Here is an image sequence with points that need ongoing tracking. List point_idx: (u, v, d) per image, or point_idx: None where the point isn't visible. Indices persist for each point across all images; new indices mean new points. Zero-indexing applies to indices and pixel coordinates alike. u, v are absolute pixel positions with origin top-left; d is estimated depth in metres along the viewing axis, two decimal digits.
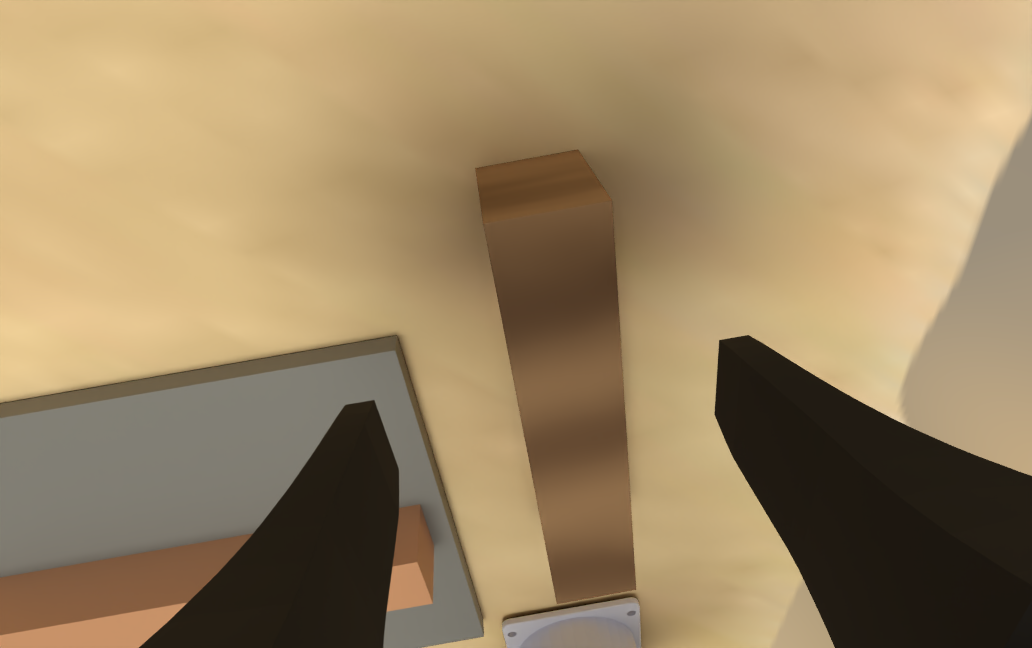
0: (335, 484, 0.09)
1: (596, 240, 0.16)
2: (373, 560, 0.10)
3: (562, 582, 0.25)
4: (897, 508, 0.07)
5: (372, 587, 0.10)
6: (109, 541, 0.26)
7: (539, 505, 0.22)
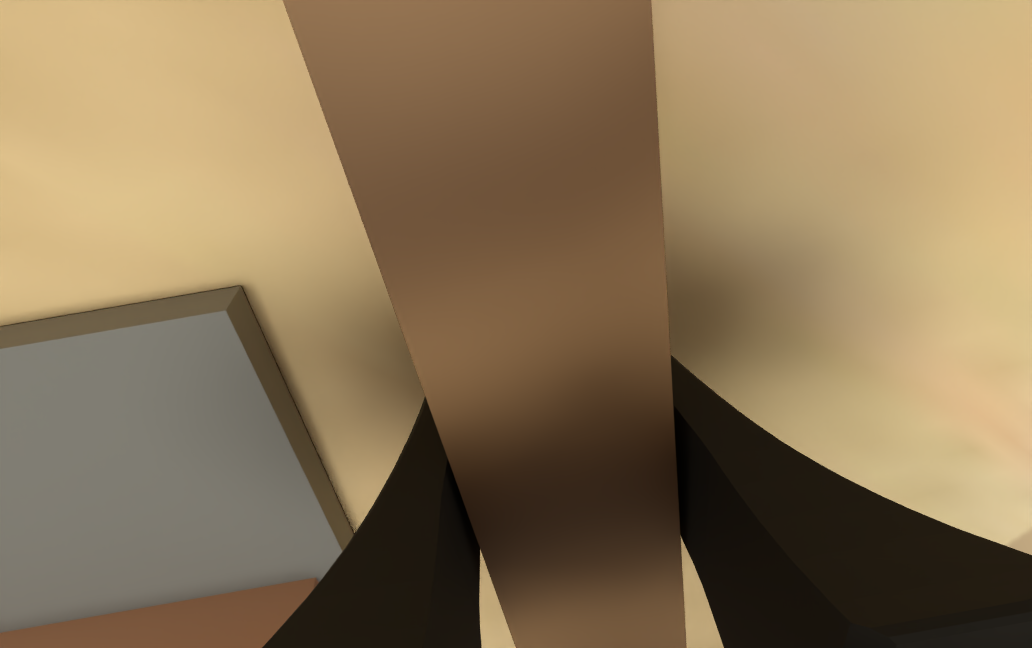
0: (441, 466, 0.09)
1: None
2: (469, 543, 0.10)
3: None
4: (759, 533, 0.07)
5: (470, 570, 0.10)
6: None
7: (507, 615, 0.11)
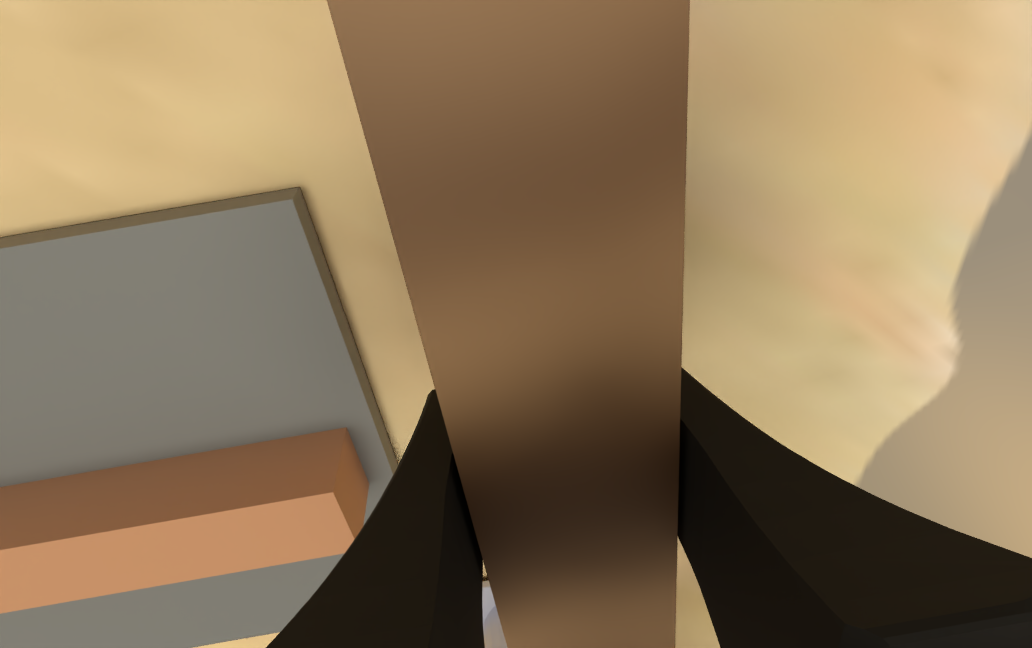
0: (445, 465, 0.09)
1: None
2: (472, 543, 0.10)
3: None
4: (755, 533, 0.07)
5: (473, 569, 0.10)
6: None
7: (500, 612, 0.11)
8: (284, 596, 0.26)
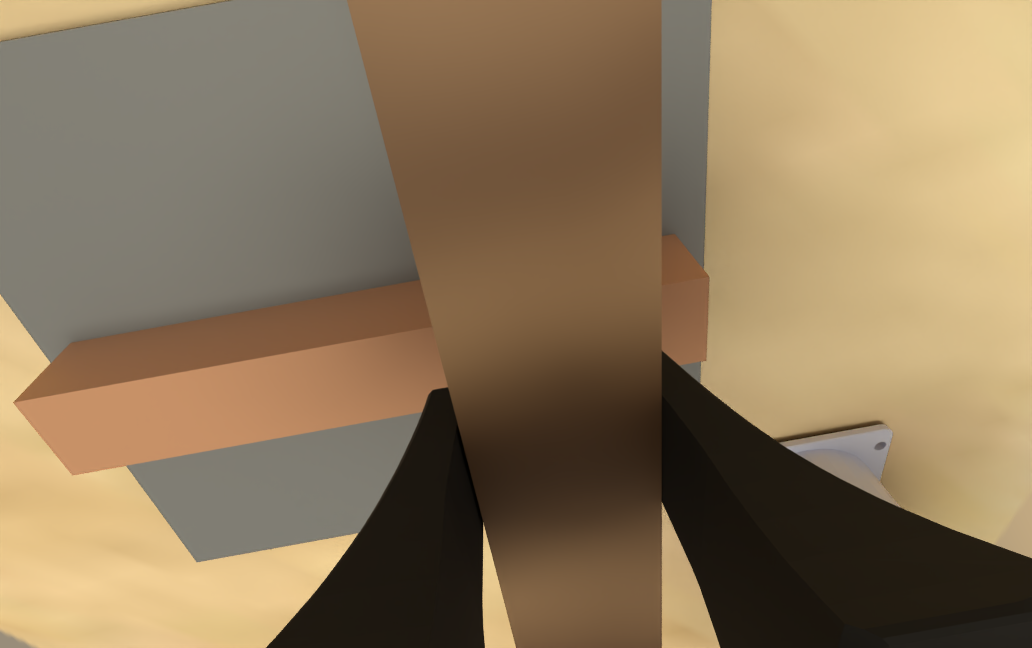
0: (445, 465, 0.09)
1: None
2: (472, 543, 0.10)
3: None
4: (755, 533, 0.07)
5: (473, 569, 0.10)
6: (249, 279, 0.18)
7: (498, 569, 0.12)
8: None
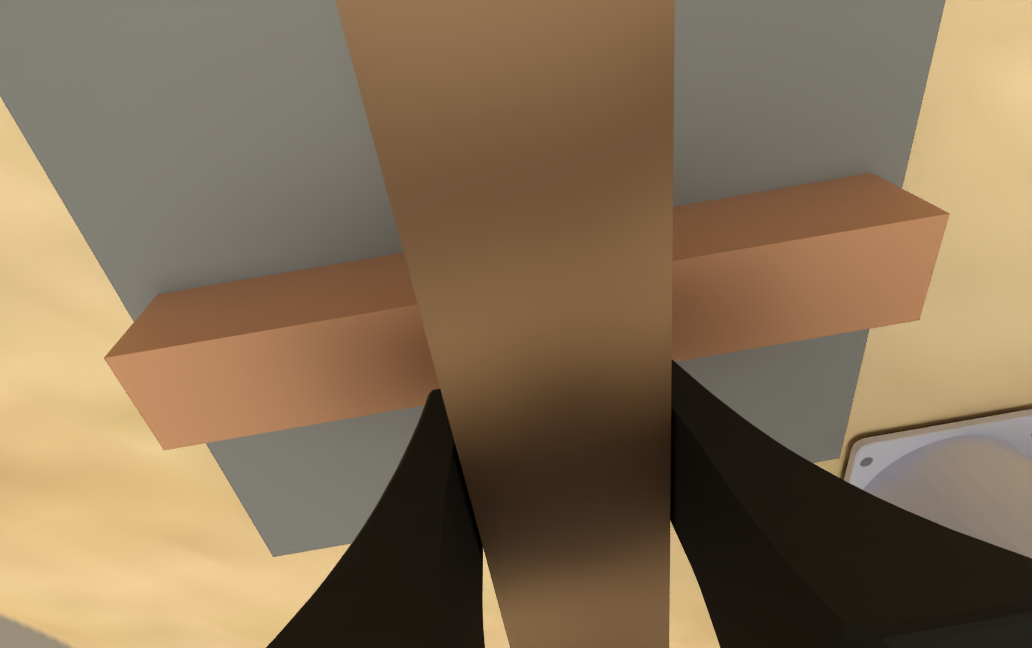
0: (445, 465, 0.09)
1: None
2: (472, 543, 0.10)
3: None
4: (754, 533, 0.07)
5: (473, 569, 0.10)
6: (374, 219, 0.16)
7: (499, 596, 0.12)
8: None
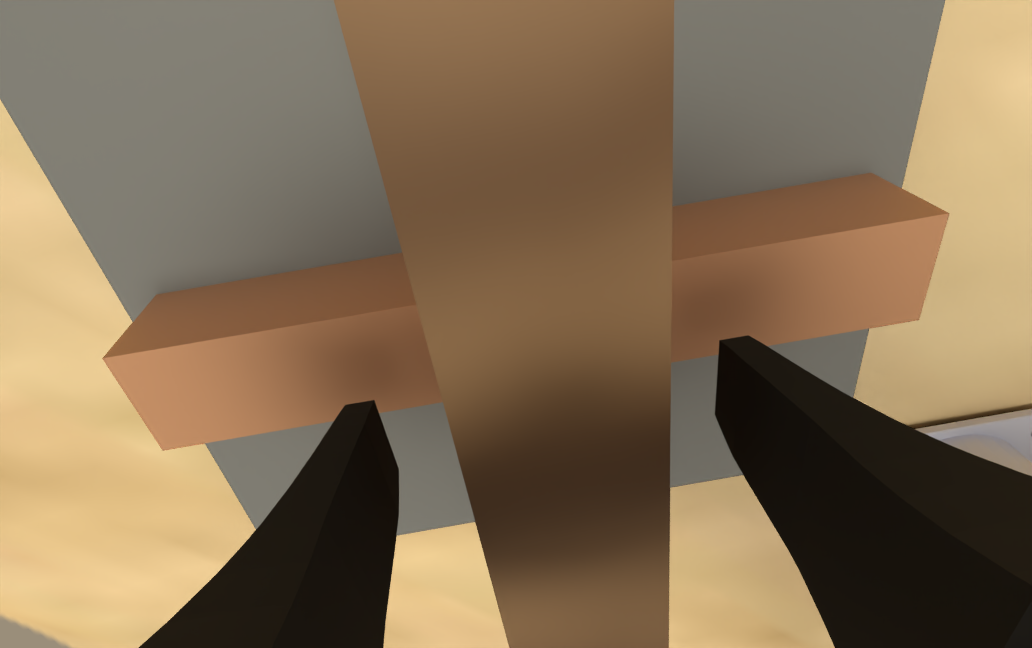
0: (335, 484, 0.09)
1: None
2: (373, 560, 0.10)
3: None
4: (899, 508, 0.07)
5: (372, 587, 0.10)
6: (374, 219, 0.16)
7: (498, 597, 0.12)
8: (675, 438, 0.21)
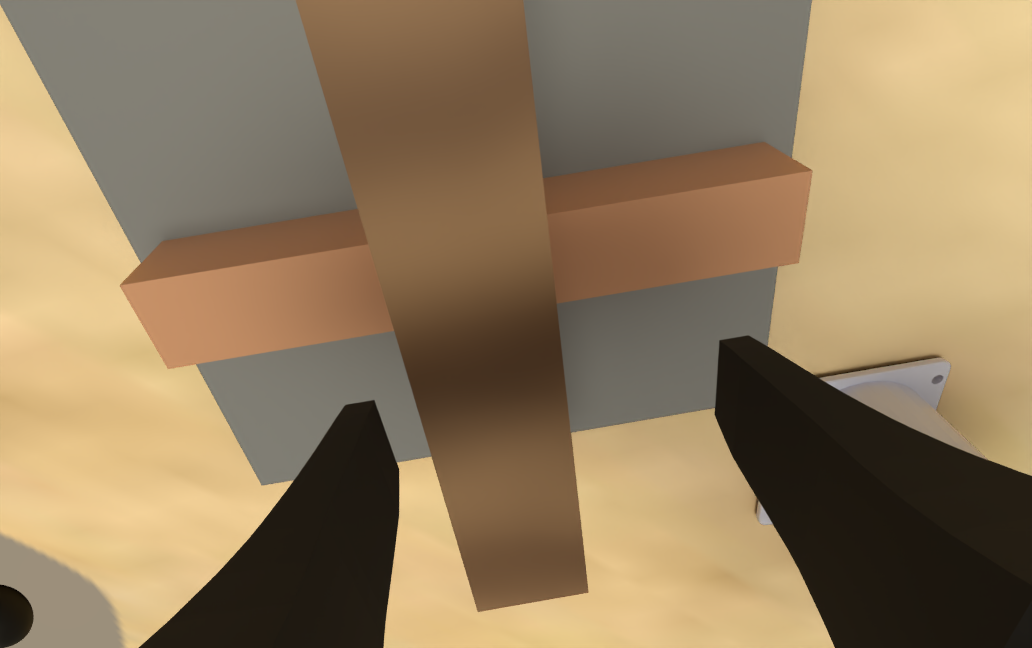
0: (335, 484, 0.09)
1: None
2: (373, 560, 0.10)
3: (482, 581, 0.17)
4: (898, 508, 0.07)
5: (372, 587, 0.10)
6: (345, 177, 0.19)
7: (437, 466, 0.15)
8: (613, 379, 0.24)
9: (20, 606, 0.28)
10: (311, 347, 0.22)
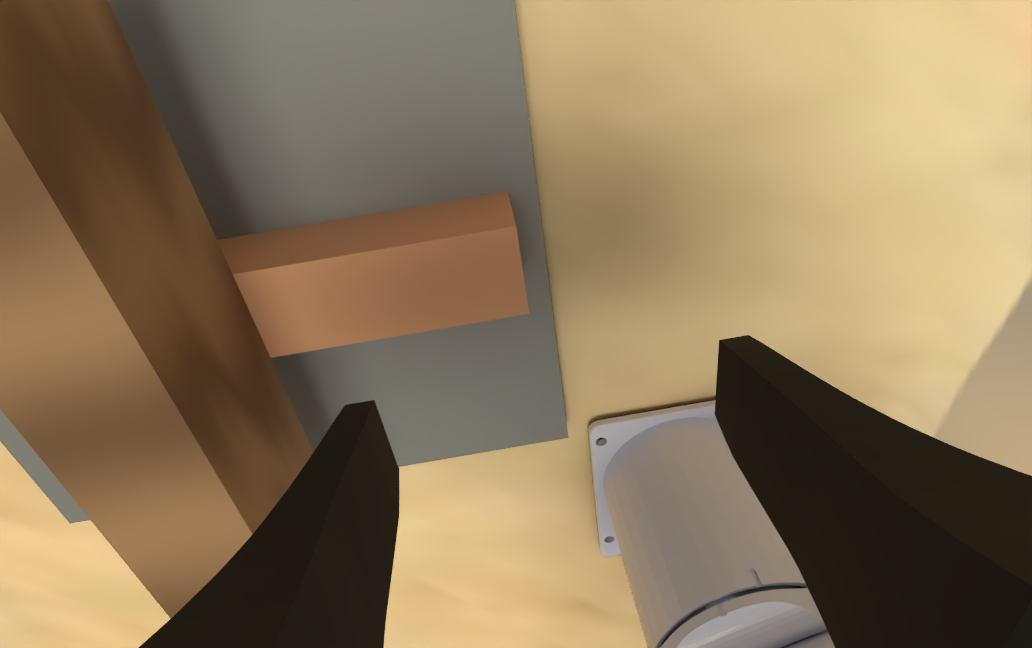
0: (335, 484, 0.09)
1: None
2: (373, 560, 0.10)
3: None
4: (898, 508, 0.07)
5: (372, 587, 0.10)
6: None
7: (100, 528, 0.15)
8: (409, 419, 0.24)
9: None
10: None
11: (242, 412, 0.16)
